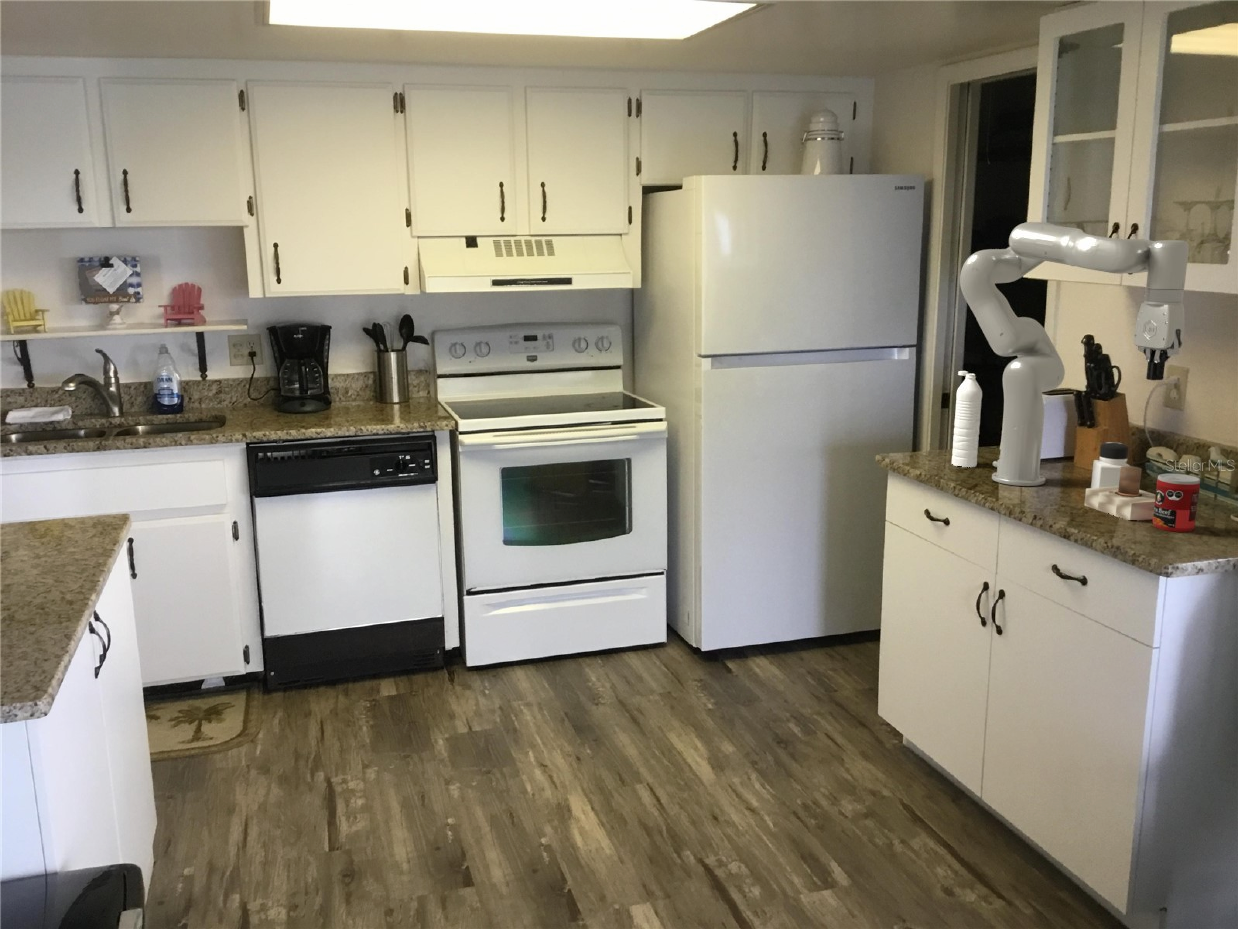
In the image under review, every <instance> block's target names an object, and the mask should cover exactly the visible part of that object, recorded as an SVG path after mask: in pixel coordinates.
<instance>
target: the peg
mask: <svg viewBox="0 0 1238 929" xmlns="http://www.w3.org/2000/svg"><path fill="white" fill-rule="evenodd" d="M1142 470H1143V469H1142V468H1141V467H1138V466H1132V465H1130V466H1122V467H1121V470H1120V479H1119V488H1118V491H1117V494H1119V495H1120V496H1126V497H1138V496H1139V495H1140V493H1139V490H1140V488H1141V478H1142Z"/></svg>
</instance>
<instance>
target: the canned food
mask: <svg viewBox="0 0 1238 929" xmlns="http://www.w3.org/2000/svg"><path fill="white" fill-rule="evenodd" d="M1200 485H1201V479H1200V477H1197V476H1194V475H1189V474H1185V473H1183V474H1182V473H1162V474H1159V475H1158V476H1157V480H1156V489H1155V495H1156V496H1155V505H1154V514H1153V519H1152V525H1153V527H1155V528H1156V527H1157V528H1156V529H1158V528H1159V530H1161V529H1162V530H1163V531H1167V532H1172V531H1173V533H1187V532H1188V533H1189V532H1192V531H1193V530H1194V528H1195V525H1196V520H1197V510H1198V504H1199V497H1200V496H1199V494H1200V489H1201V488H1200ZM1162 530H1161V531H1162Z"/></svg>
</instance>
